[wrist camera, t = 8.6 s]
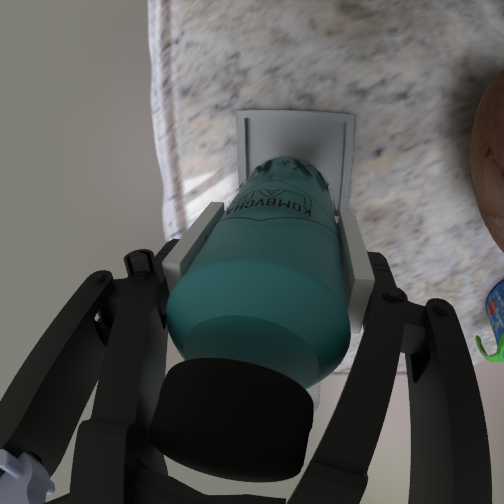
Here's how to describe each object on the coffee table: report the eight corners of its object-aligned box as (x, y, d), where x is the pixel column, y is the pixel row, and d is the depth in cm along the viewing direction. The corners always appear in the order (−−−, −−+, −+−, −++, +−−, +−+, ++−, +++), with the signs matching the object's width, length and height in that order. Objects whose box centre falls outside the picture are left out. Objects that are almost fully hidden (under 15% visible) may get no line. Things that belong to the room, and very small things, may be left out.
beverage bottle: (339, 215, 23) (372, 492, 6) (262, 235, 25) (183, 486, 8) (315, 138, 20) (358, 399, 3) (233, 164, 22) (48, 386, 5)
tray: (351, 114, 26) (354, 115, 24) (332, 289, 38) (333, 300, 36) (241, 109, 28) (236, 110, 26) (247, 282, 40) (243, 293, 37)
